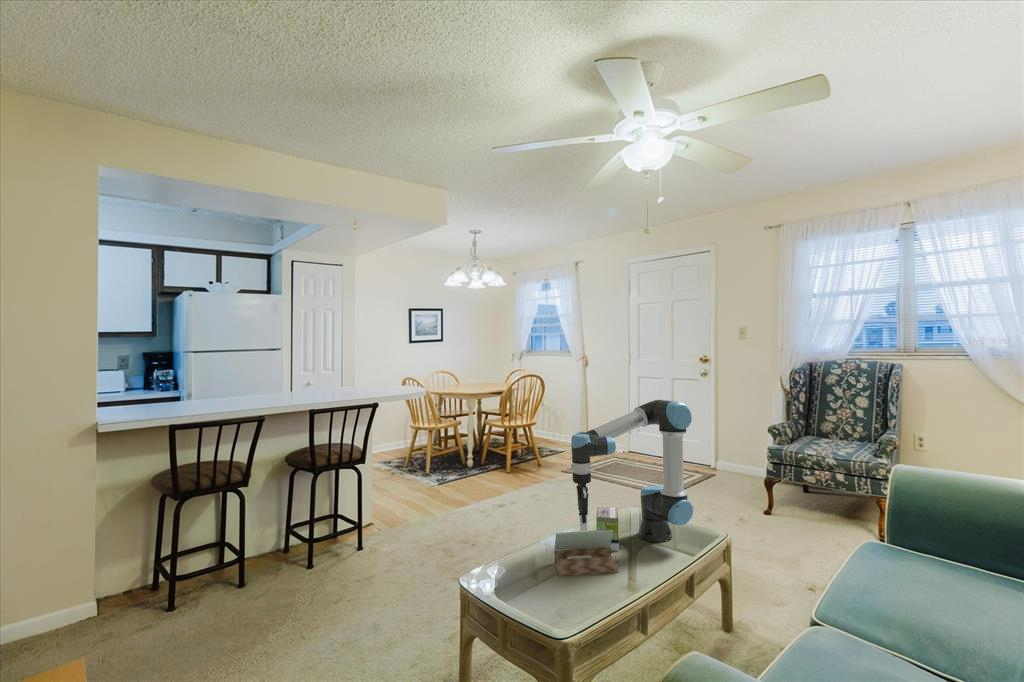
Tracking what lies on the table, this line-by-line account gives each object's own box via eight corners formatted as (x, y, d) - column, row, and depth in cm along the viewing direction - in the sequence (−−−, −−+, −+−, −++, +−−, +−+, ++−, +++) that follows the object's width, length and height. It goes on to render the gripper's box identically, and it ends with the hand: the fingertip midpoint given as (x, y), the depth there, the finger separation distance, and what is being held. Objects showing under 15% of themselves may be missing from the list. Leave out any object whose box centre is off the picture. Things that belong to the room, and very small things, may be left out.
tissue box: (610, 559, 203) (610, 547, 203) (618, 572, 191) (617, 559, 191) (554, 562, 201) (554, 550, 202) (558, 576, 189) (558, 562, 190)
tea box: (620, 551, 210) (618, 517, 211) (596, 550, 212) (595, 517, 213) (619, 538, 225) (617, 506, 225) (597, 537, 227) (596, 506, 227)
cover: (609, 546, 203) (609, 545, 203) (613, 531, 195) (612, 529, 196) (554, 550, 202) (554, 548, 202) (556, 534, 194) (555, 533, 195)
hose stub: (591, 557, 201) (592, 553, 200) (592, 564, 199) (593, 560, 197) (565, 559, 201) (565, 555, 199) (566, 565, 198) (567, 561, 197)
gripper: (569, 469, 203) (571, 524, 203) (575, 476, 190) (577, 536, 190) (587, 468, 204) (589, 524, 203) (593, 475, 191) (596, 535, 190)
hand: (583, 530), depth 196 cm, fingers closed
